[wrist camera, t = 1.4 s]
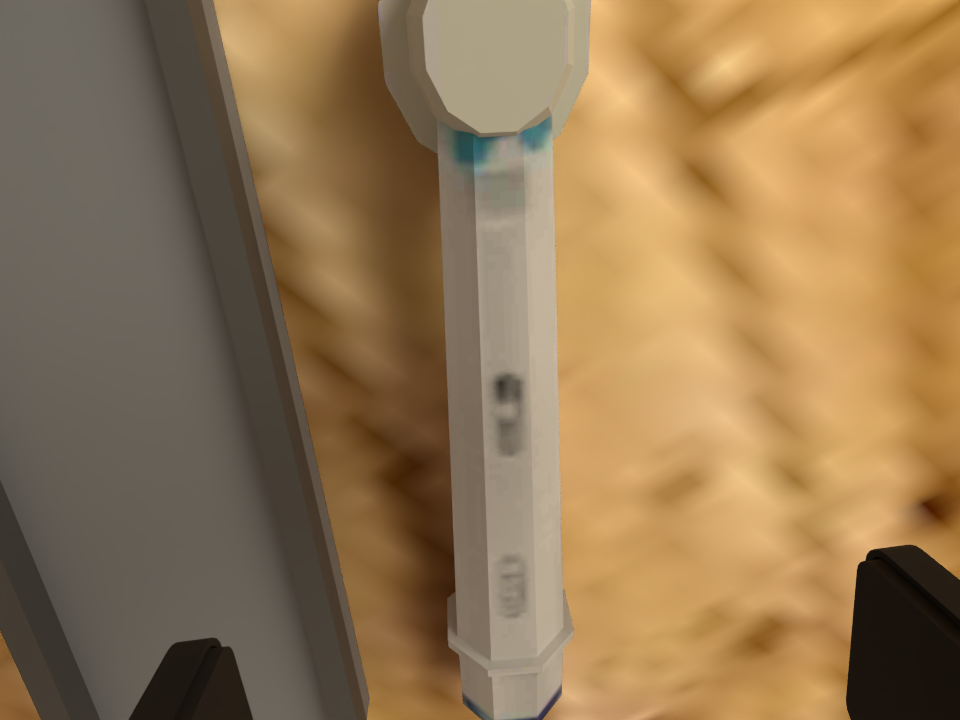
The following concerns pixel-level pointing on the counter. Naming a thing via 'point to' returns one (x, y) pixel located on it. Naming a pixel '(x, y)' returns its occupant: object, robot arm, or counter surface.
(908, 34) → the counter surface
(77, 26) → the pipe jig board
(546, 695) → the white electric toothbrush
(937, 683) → the robot arm
